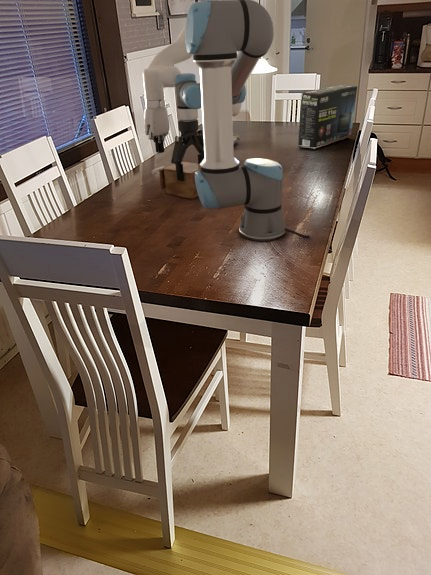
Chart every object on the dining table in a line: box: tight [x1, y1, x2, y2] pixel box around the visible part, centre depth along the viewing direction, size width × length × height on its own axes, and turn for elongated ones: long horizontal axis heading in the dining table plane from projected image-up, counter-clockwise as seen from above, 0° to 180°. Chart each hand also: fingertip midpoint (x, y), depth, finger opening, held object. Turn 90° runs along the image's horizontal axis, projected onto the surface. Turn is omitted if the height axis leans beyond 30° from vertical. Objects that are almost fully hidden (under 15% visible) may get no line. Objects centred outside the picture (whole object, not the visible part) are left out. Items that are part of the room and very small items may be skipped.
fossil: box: [233, 132, 241, 146], centre depth 248 cm, size 18×11×15 cm
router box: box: [297, 84, 358, 151], centre depth 238 cm, size 36×11×27 cm, turn 134°
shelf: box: [151, 163, 174, 190], centre depth 187 cm, size 18×10×8 cm, turn 55°
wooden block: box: [164, 160, 200, 200], centre depth 183 cm, size 13×11×10 cm
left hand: (160, 152), depth 185 cm, fingers closed
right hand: (191, 175), depth 181 cm, fingers open, 13 cm apart
